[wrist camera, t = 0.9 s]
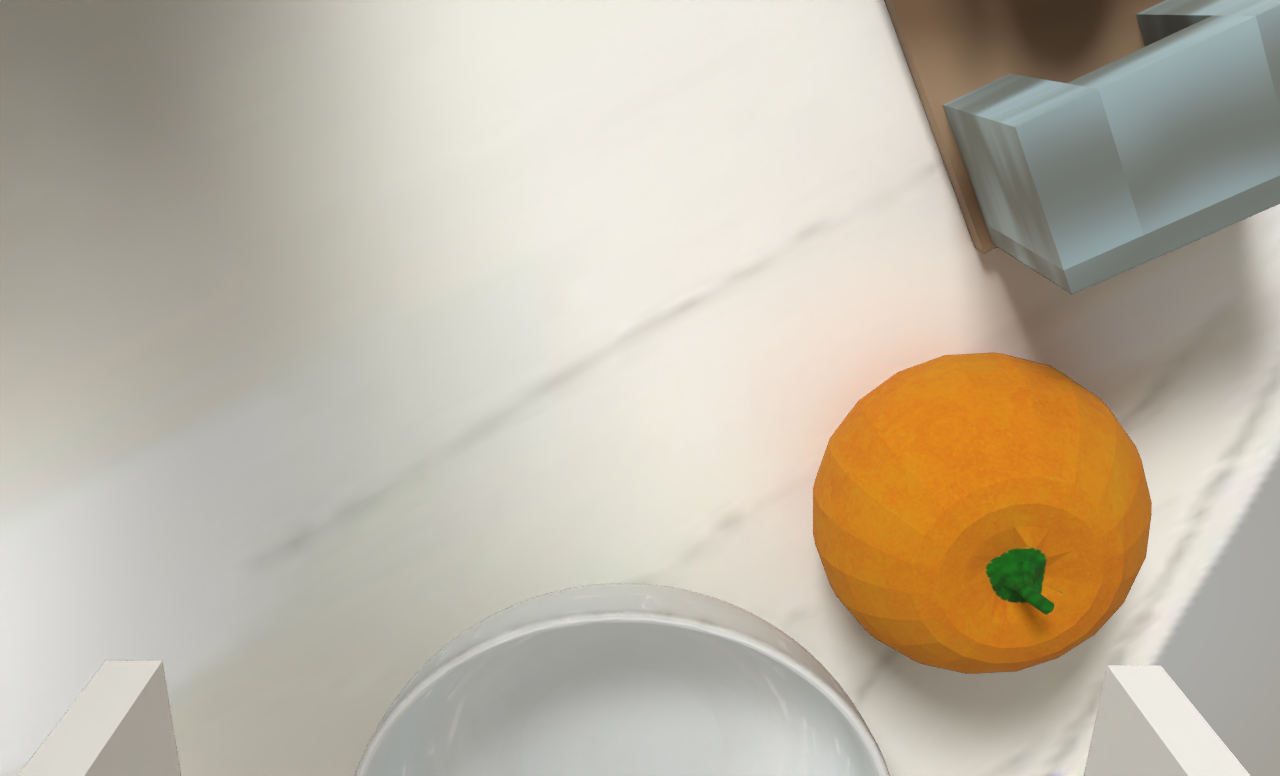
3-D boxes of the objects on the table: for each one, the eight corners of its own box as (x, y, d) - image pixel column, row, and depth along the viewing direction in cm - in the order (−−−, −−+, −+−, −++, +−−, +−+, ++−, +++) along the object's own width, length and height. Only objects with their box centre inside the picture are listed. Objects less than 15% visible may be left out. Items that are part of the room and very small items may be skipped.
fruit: (1126, 342, 40) (1282, 445, 30) (1053, 608, 44) (1171, 773, 34) (822, 313, 39) (885, 409, 30) (776, 585, 43) (819, 746, 34)
